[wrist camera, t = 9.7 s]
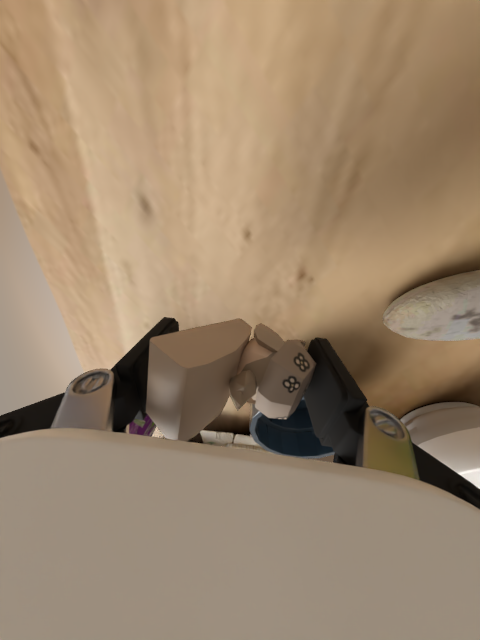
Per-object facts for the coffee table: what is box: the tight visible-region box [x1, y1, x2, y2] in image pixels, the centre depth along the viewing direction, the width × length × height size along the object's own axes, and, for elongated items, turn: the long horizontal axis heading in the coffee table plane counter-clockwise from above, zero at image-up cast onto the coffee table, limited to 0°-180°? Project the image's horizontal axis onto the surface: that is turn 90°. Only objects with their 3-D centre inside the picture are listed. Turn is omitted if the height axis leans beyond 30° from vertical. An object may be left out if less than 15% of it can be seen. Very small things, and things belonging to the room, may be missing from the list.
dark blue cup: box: [249, 396, 335, 459], centre depth 21 cm, size 12×12×6 cm
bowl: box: [400, 402, 480, 489], centre depth 21 cm, size 20×20×8 cm
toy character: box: [146, 319, 316, 441], centre depth 9 cm, size 4×8×6 cm
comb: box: [200, 430, 274, 454], centre depth 29 cm, size 15×2×10 cm
